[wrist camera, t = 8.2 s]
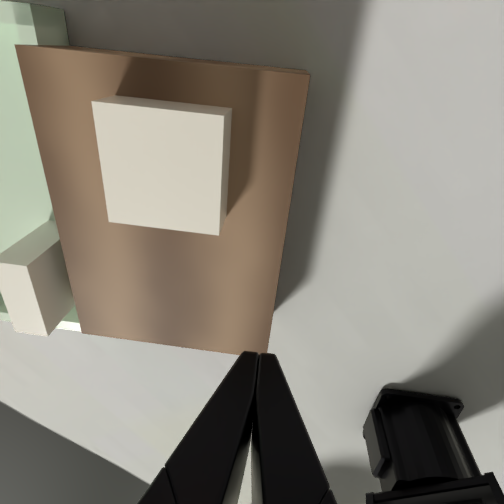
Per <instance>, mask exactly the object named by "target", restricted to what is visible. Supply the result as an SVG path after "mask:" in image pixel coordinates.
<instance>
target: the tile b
mask: <svg viewBox="0 0 504 504" xmlns="http://www.w3.org/2000/svg"><path fill="white" fill-rule="evenodd" d="M91 102H92V109H93V116H94V123H95V130H96V137H97V144H98V151H99V158H100V165H101V172H102V179H103V185H104V192H105V199H106V206H107V213H108V220H109V222H113V223H121V224H129V225H137V226H145V227H153V228H161V229H170V230H178V231H186V232H194V233H202V234H210V235H218V236H219V234H220V232H221V229H222V227H223V224H224V222H225V219H226V215H227V196H228V177H229V158H230V139H231V120H232V108H227V107H218V106H209V105H200V104H191V103H182V102H172V101H163V100H154V99H145V98H136V97H126V96H117V95H114V96H110V97H106V98H102V99H98V100H94V101H91Z"/></svg>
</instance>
